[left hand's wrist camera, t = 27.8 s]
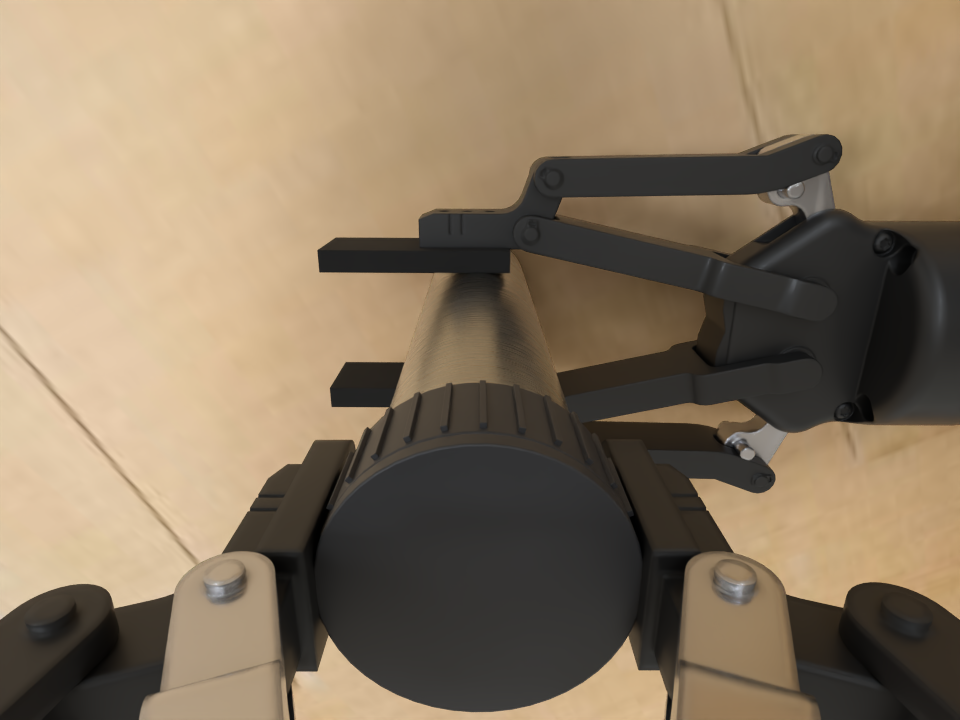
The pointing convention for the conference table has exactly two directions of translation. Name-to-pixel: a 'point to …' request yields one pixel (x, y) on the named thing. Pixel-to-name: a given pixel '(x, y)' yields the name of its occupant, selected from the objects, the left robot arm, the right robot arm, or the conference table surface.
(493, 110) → the conference table surface
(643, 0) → the conference table surface
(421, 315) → the tan cylinder
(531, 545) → the lid
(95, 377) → the conference table surface
